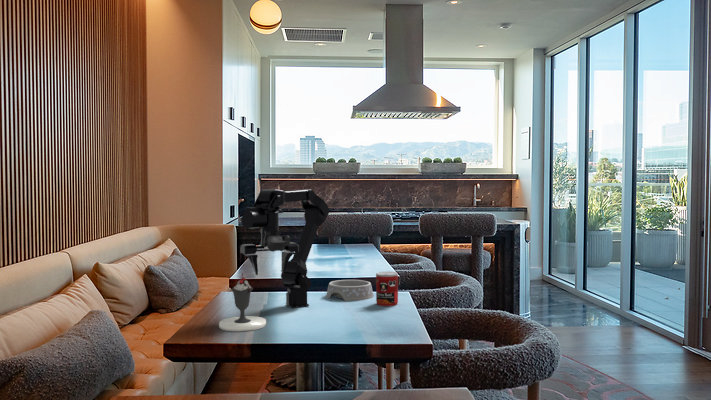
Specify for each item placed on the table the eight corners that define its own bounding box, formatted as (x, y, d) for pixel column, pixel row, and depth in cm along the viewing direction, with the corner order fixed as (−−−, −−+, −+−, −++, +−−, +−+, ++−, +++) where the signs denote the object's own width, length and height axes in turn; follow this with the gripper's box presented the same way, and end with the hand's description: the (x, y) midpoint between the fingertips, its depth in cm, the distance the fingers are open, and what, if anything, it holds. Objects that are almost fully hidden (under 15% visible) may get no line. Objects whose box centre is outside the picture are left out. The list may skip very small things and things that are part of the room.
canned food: (373, 305, 202) (372, 274, 201) (380, 300, 209) (380, 270, 209) (393, 307, 199) (393, 275, 198) (400, 302, 206) (400, 272, 206)
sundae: (241, 325, 170) (240, 274, 169) (226, 321, 174) (226, 272, 174) (258, 320, 175) (257, 272, 175) (243, 317, 179) (243, 270, 179)
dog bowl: (344, 290, 231) (343, 277, 231) (382, 295, 220) (382, 281, 220) (317, 297, 217) (317, 283, 217) (356, 303, 206) (356, 288, 206)
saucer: (257, 318, 184) (257, 314, 184) (272, 327, 172) (272, 323, 171) (214, 323, 177) (214, 319, 177) (226, 333, 165) (225, 329, 165)
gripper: (249, 229, 179) (249, 279, 179) (305, 227, 187) (305, 275, 188) (239, 227, 189) (239, 274, 189) (292, 225, 197) (293, 271, 198)
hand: (270, 274), depth 191 cm, fingers open, 9 cm apart
